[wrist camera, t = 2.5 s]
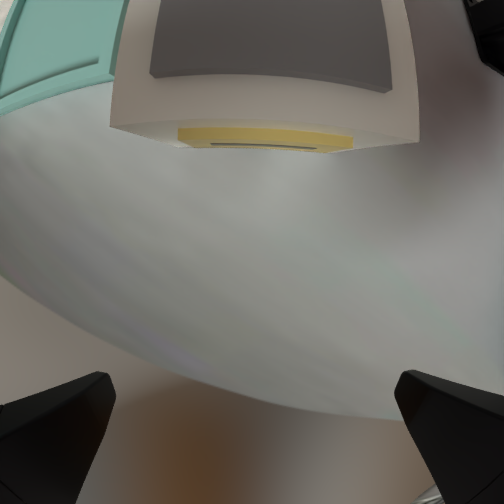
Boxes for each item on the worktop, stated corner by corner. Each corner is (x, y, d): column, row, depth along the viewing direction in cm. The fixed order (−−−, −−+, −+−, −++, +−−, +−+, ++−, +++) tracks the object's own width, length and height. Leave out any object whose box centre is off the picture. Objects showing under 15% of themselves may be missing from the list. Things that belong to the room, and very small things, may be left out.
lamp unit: (328, 12, 10) (385, -72, 3) (331, 159, 12) (428, 155, 5) (190, 5, 9) (158, -90, 2) (178, 154, 12) (100, 138, 5)
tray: (150, -51, 8) (145, -61, 6) (118, 79, 10) (108, 73, 9) (25, -2, 7) (17, -7, 6) (-8, 119, 10) (-19, 119, 9)
